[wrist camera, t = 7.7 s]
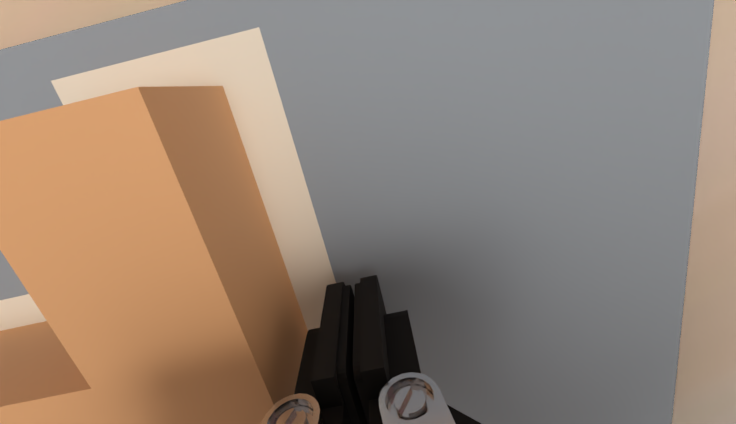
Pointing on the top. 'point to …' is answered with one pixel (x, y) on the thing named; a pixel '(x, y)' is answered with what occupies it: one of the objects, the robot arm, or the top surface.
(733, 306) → the top surface
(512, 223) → the mat
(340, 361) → the robot arm
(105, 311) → the t block
